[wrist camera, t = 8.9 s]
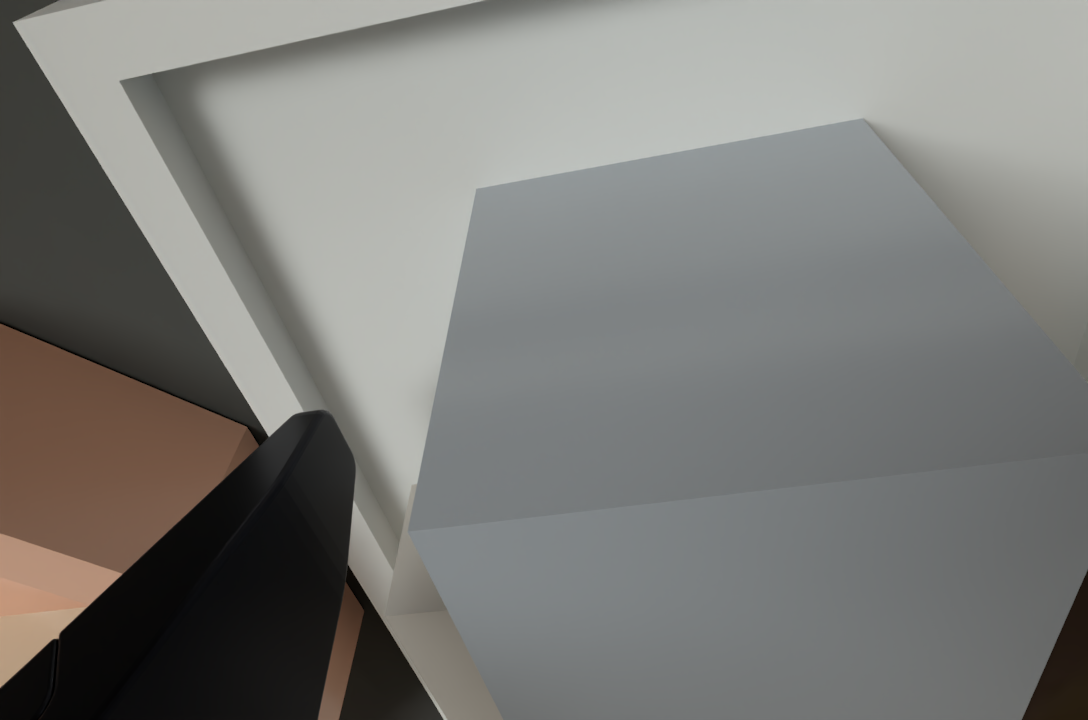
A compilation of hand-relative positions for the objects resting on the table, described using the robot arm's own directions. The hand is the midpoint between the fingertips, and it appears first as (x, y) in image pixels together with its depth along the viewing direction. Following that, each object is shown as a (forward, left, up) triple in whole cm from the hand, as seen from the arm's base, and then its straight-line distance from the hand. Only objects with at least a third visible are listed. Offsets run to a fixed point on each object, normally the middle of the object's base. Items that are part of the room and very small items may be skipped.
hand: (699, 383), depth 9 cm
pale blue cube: (0, 0, -2) cm, 2 cm away
